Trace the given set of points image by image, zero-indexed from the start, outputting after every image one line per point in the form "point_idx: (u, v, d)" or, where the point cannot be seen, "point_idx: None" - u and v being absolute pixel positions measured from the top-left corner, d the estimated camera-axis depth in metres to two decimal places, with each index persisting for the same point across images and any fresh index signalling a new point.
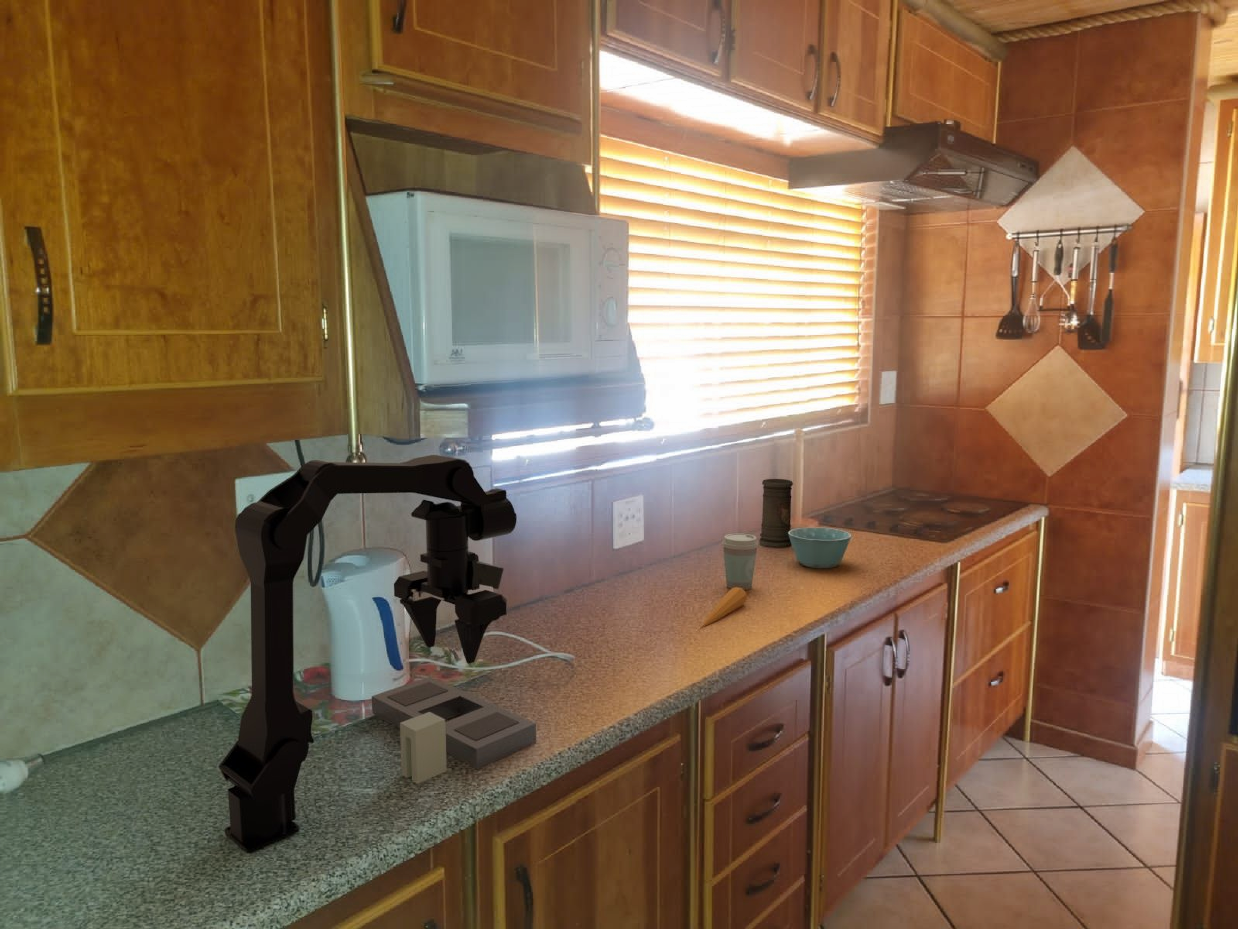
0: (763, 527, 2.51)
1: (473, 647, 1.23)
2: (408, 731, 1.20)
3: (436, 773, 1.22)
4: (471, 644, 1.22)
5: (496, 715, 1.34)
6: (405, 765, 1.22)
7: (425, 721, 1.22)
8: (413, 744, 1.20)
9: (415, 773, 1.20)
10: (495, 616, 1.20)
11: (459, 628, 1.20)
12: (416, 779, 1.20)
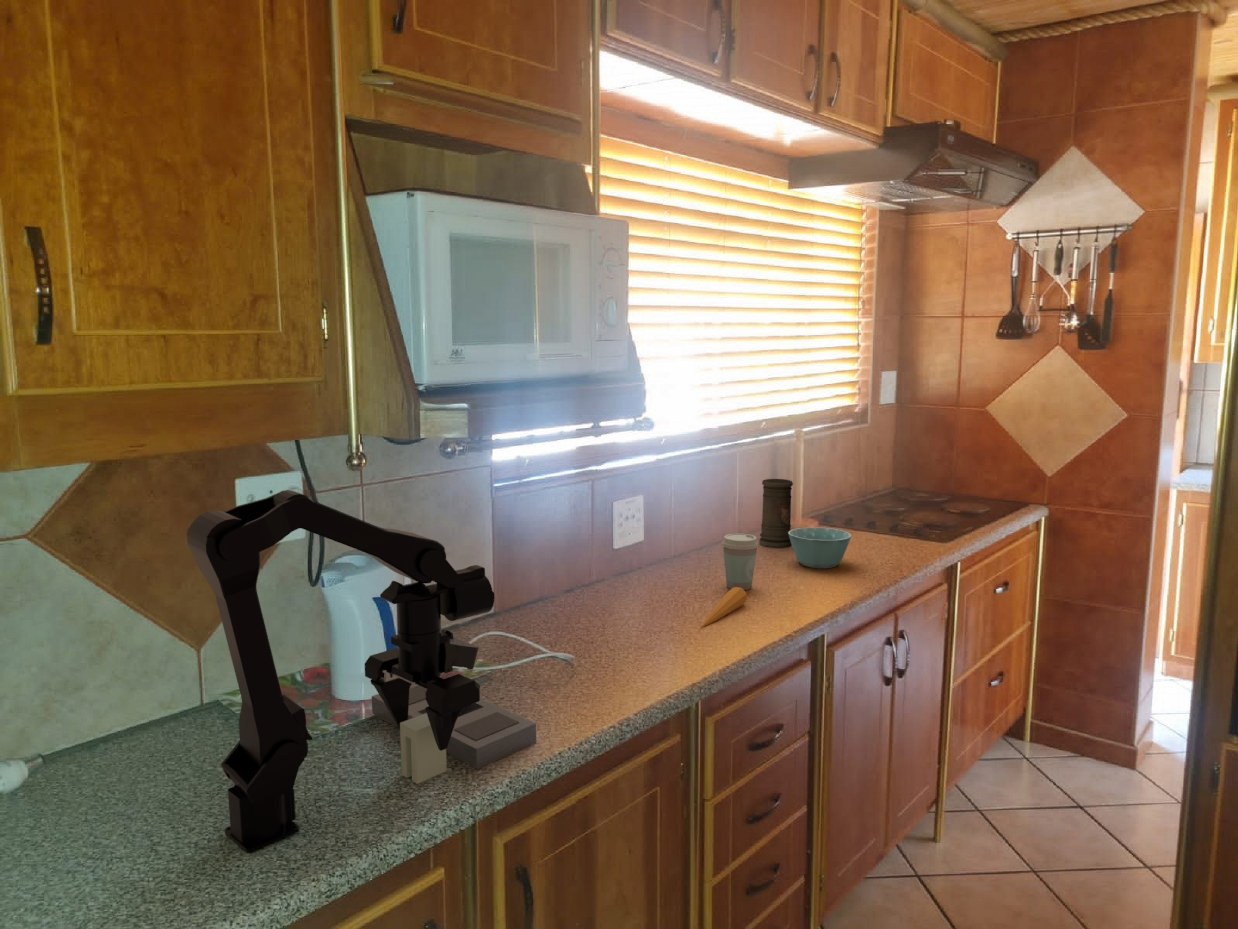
0: (763, 527, 2.51)
1: (445, 734, 1.18)
2: (408, 731, 1.20)
3: (436, 773, 1.22)
4: (443, 731, 1.18)
5: (496, 715, 1.34)
6: (405, 765, 1.22)
7: (425, 721, 1.22)
8: (413, 744, 1.20)
9: (415, 773, 1.20)
10: (467, 704, 1.15)
11: (430, 716, 1.16)
12: (416, 779, 1.20)
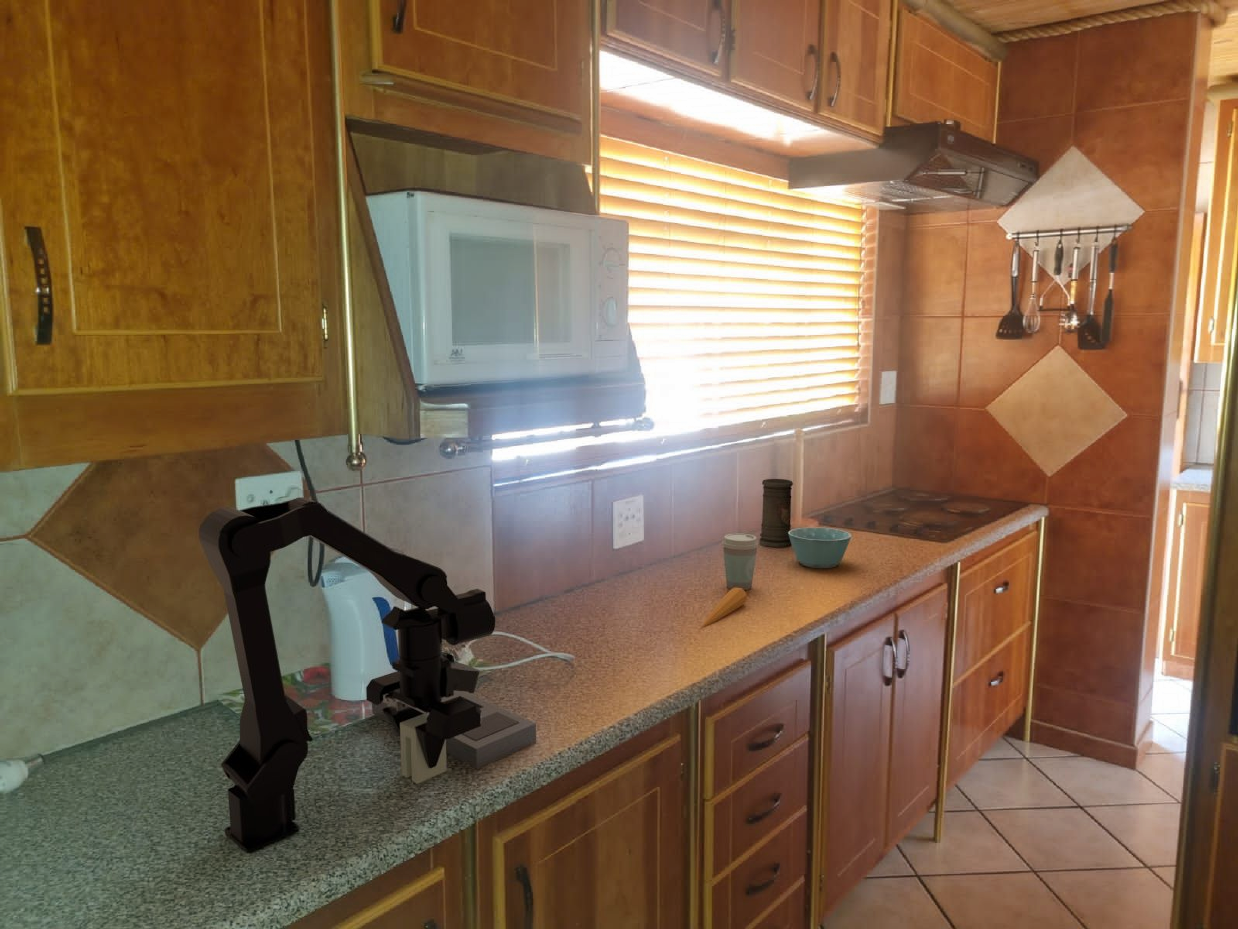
0: (763, 527, 2.51)
1: (434, 752, 1.20)
2: (408, 731, 1.20)
3: (436, 773, 1.22)
4: (432, 749, 1.20)
5: (496, 715, 1.34)
6: (405, 765, 1.22)
7: (425, 721, 1.22)
8: (413, 744, 1.20)
9: (415, 773, 1.20)
10: (468, 729, 1.16)
11: (419, 735, 1.18)
12: (416, 779, 1.20)
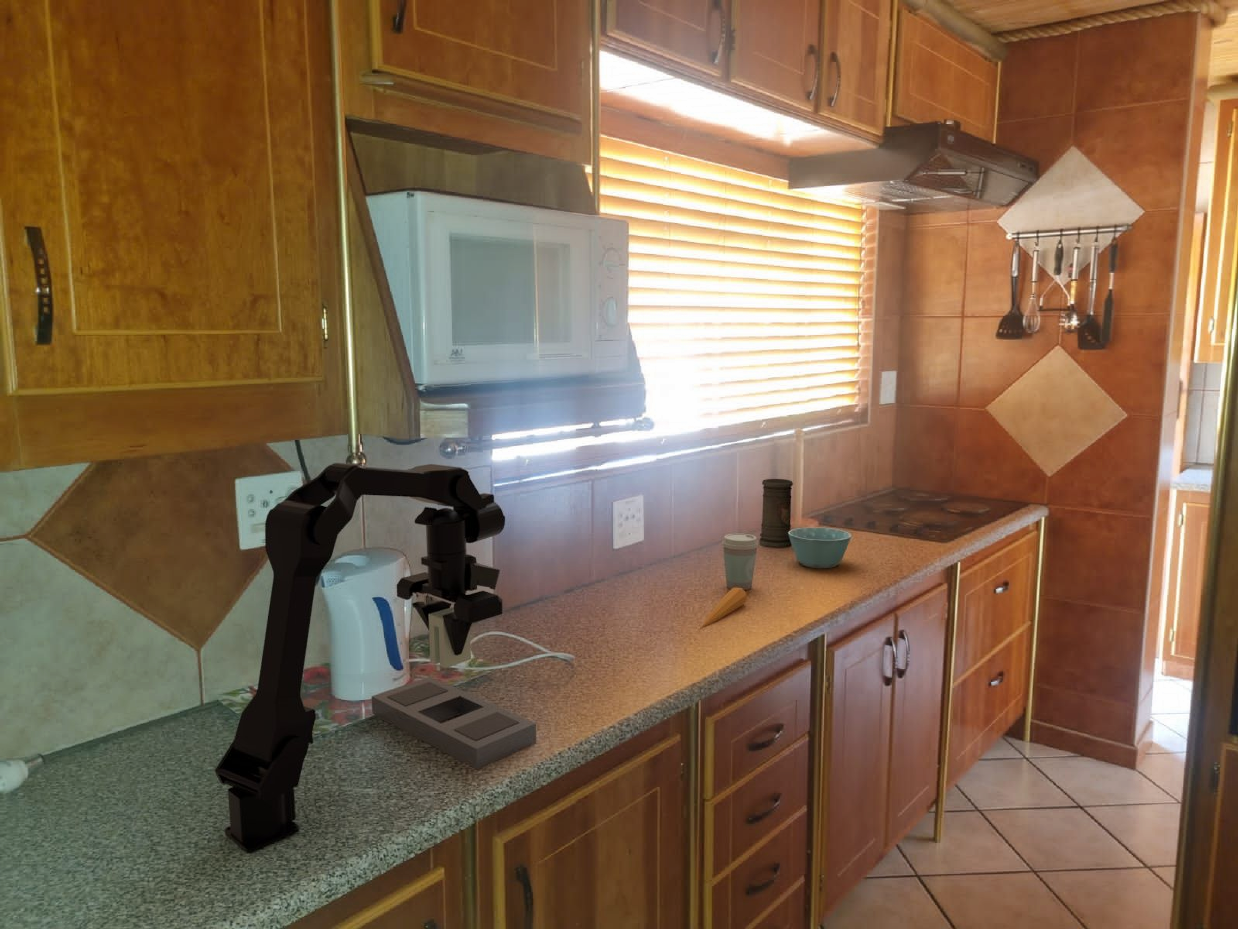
0: (763, 527, 2.51)
1: (460, 640, 1.32)
2: (436, 620, 1.32)
3: (462, 660, 1.34)
4: (458, 637, 1.32)
5: (496, 715, 1.34)
6: (434, 653, 1.34)
7: (451, 612, 1.34)
8: (441, 632, 1.32)
9: (443, 659, 1.32)
10: (491, 615, 1.28)
11: (447, 622, 1.30)
12: (444, 664, 1.32)
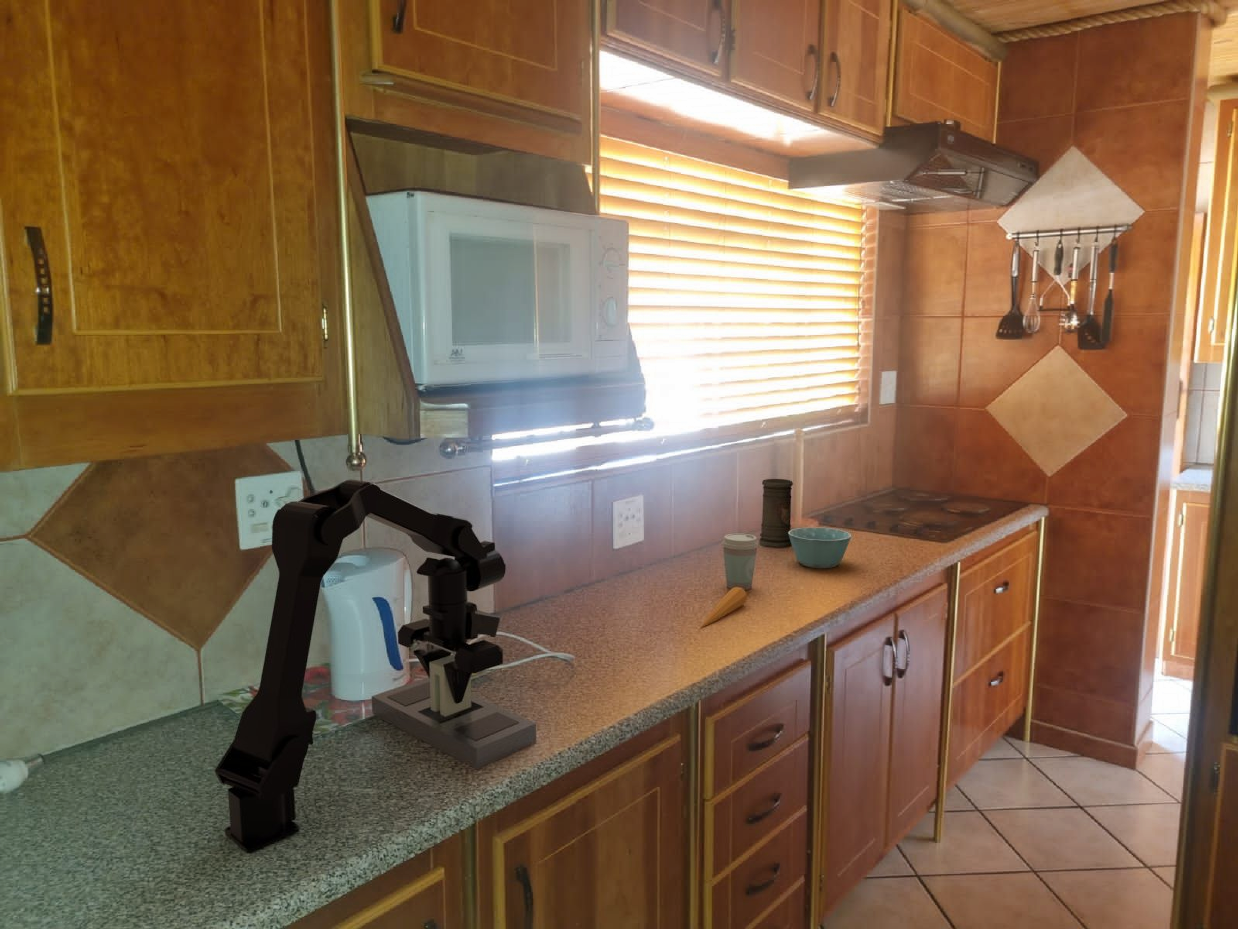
0: (763, 527, 2.51)
1: (460, 688, 1.34)
2: (437, 669, 1.33)
3: (462, 708, 1.36)
4: (459, 686, 1.33)
5: (496, 715, 1.34)
6: (434, 701, 1.35)
7: (452, 661, 1.35)
8: (442, 681, 1.33)
9: (443, 707, 1.33)
10: (492, 665, 1.29)
11: (447, 672, 1.31)
12: (444, 712, 1.33)
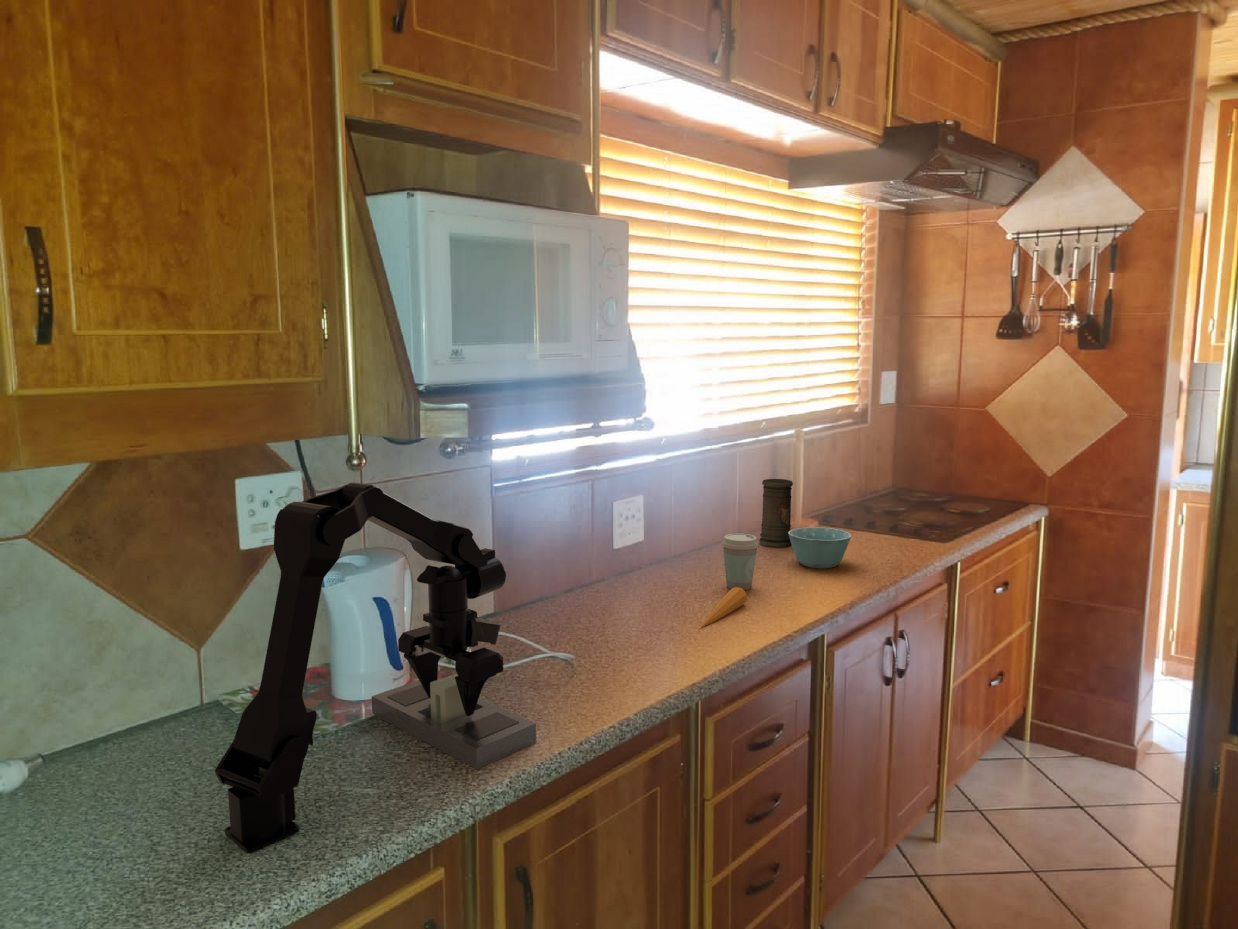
0: (763, 527, 2.51)
1: (472, 701, 1.32)
2: (438, 689, 1.34)
3: None
4: (470, 698, 1.32)
5: (496, 715, 1.34)
6: None
7: (452, 681, 1.36)
8: (442, 701, 1.33)
9: None
10: (492, 673, 1.29)
11: (459, 684, 1.30)
12: None
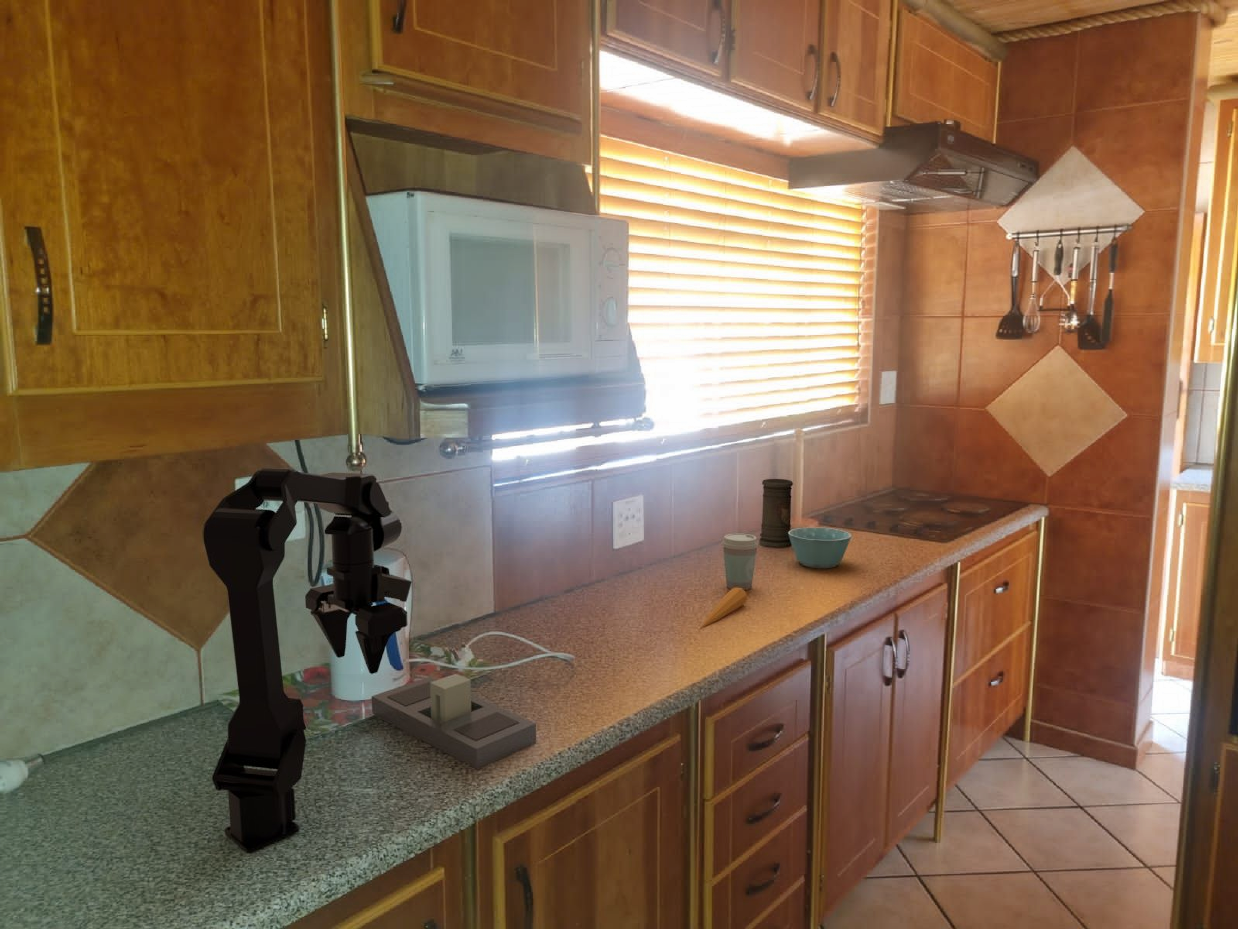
0: (763, 527, 2.51)
1: (375, 658, 1.27)
2: (438, 689, 1.34)
3: None
4: (373, 655, 1.26)
5: (496, 715, 1.34)
6: None
7: (452, 681, 1.36)
8: (442, 701, 1.33)
9: None
10: (394, 628, 1.24)
11: (359, 639, 1.24)
12: None
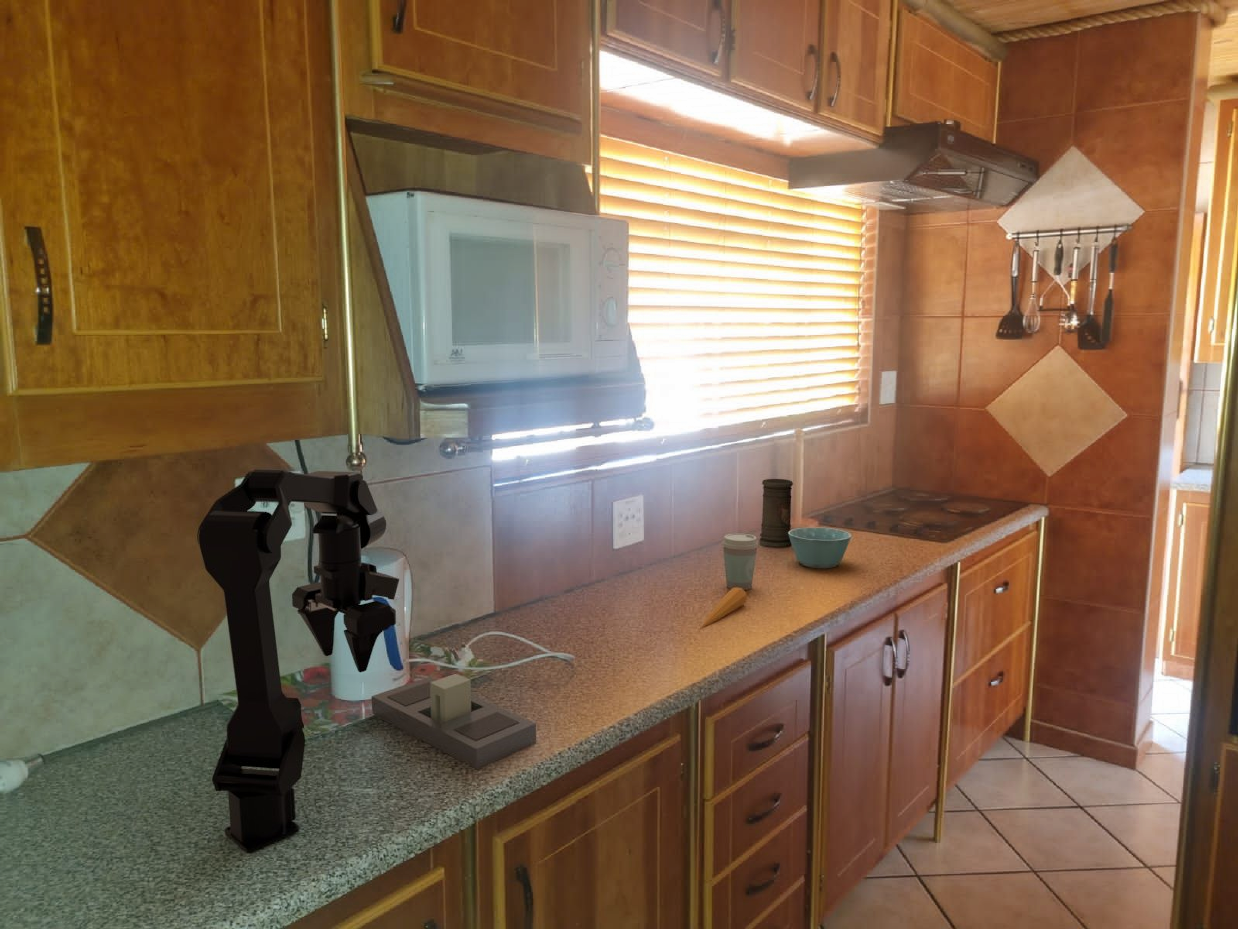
0: (763, 527, 2.51)
1: (364, 656, 1.26)
2: (437, 690, 1.34)
3: None
4: (361, 653, 1.26)
5: (496, 715, 1.34)
6: None
7: (452, 681, 1.36)
8: (442, 701, 1.33)
9: None
10: (383, 626, 1.24)
11: (348, 638, 1.24)
12: None
